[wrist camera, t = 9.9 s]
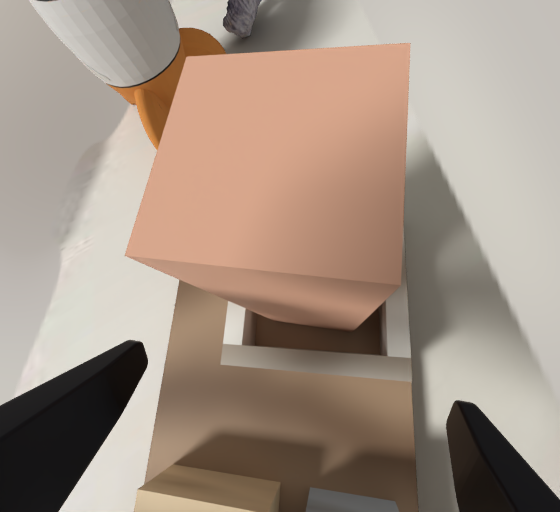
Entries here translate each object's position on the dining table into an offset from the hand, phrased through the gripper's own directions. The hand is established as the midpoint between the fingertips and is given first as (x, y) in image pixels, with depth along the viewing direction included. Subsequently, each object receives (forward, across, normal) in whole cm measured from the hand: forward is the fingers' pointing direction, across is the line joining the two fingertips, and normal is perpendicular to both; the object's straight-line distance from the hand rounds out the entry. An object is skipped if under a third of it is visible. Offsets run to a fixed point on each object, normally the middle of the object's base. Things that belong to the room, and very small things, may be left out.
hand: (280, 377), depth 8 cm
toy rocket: (+19, +14, -6) cm, 24 cm away
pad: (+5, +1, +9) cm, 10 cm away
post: (+9, 0, +3) cm, 9 cm away
